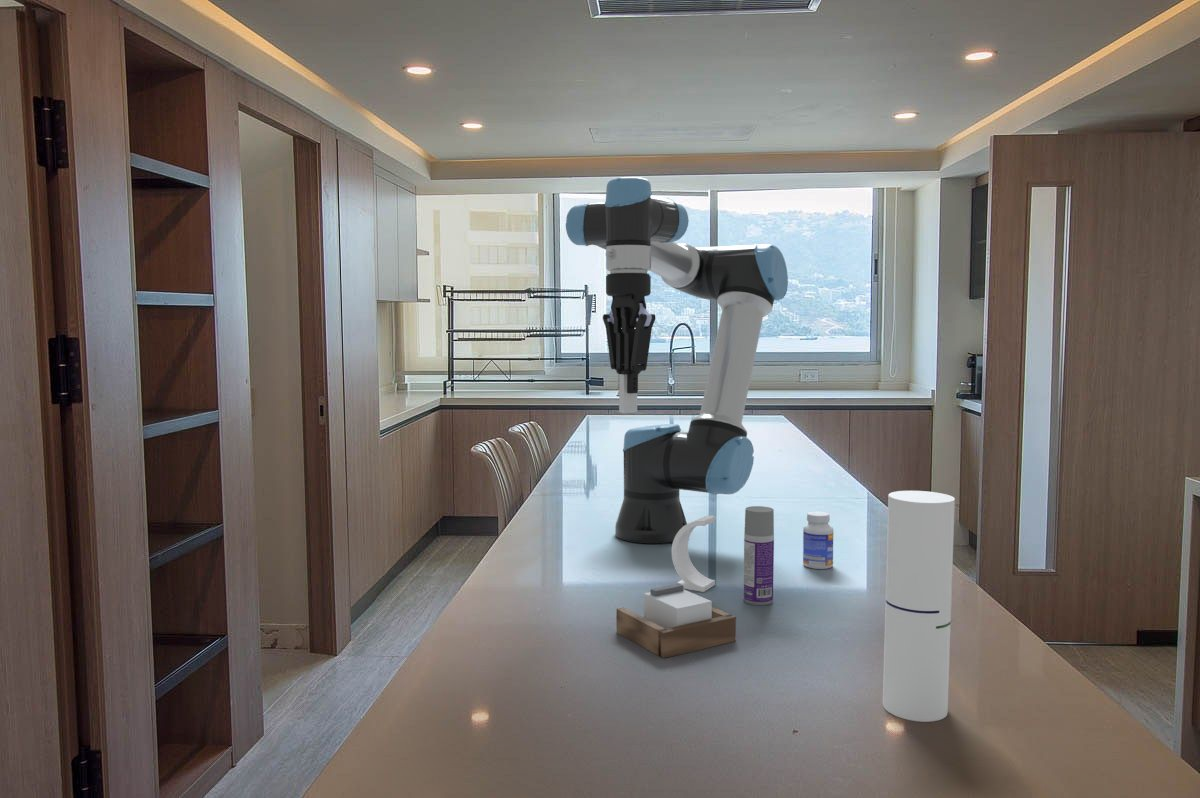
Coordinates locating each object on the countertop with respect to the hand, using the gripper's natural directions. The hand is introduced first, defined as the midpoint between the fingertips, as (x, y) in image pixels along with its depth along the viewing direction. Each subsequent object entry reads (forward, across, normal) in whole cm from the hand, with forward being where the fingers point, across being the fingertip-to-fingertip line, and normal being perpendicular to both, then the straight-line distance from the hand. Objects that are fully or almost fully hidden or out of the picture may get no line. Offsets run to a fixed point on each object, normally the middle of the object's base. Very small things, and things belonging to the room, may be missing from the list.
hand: (628, 412), depth 153 cm
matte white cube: (+30, +27, -9) cm, 41 cm away
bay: (+29, +26, -9) cm, 40 cm away
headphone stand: (+30, +8, +8) cm, 32 cm away
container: (+30, +20, +12) cm, 38 cm away
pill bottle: (+30, +10, +35) cm, 47 cm away
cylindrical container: (+30, +60, +1) cm, 67 cm away
